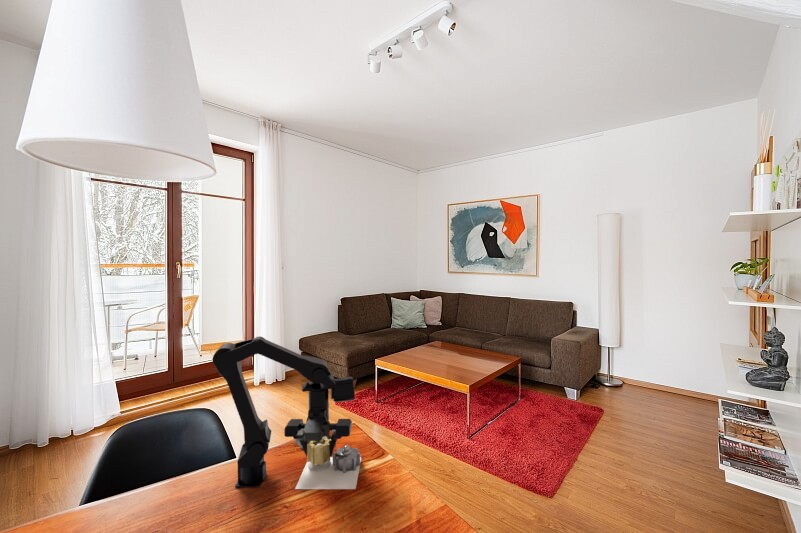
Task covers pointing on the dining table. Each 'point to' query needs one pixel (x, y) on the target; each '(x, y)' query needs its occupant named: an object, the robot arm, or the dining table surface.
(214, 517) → the dining table surface
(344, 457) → the gear
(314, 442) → the brass gear
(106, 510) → the dining table surface
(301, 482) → the gear board
